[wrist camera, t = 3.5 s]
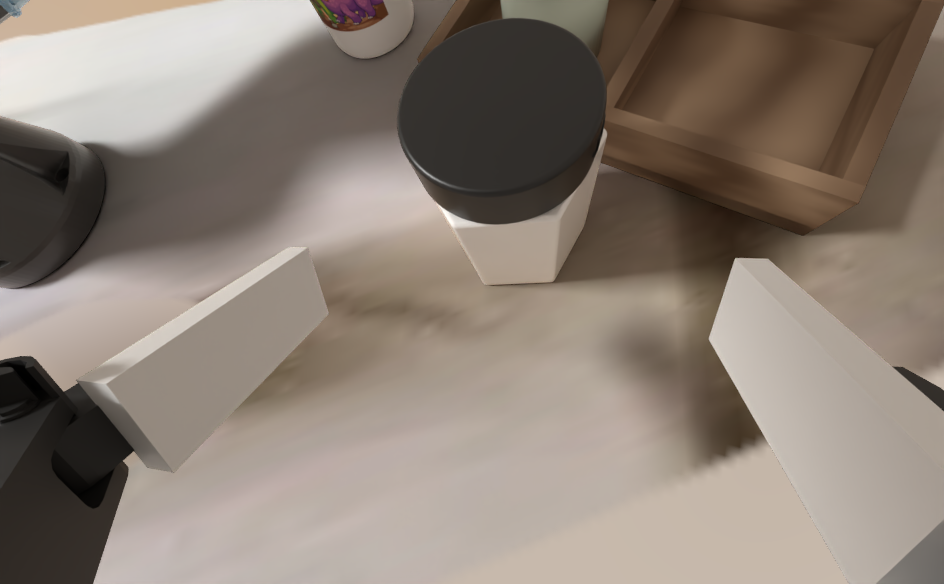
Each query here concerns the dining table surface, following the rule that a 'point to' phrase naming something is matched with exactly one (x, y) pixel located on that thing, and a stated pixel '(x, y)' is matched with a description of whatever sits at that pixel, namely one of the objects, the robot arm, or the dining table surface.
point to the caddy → (751, 95)
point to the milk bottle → (366, 24)
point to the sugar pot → (564, 16)
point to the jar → (508, 142)
